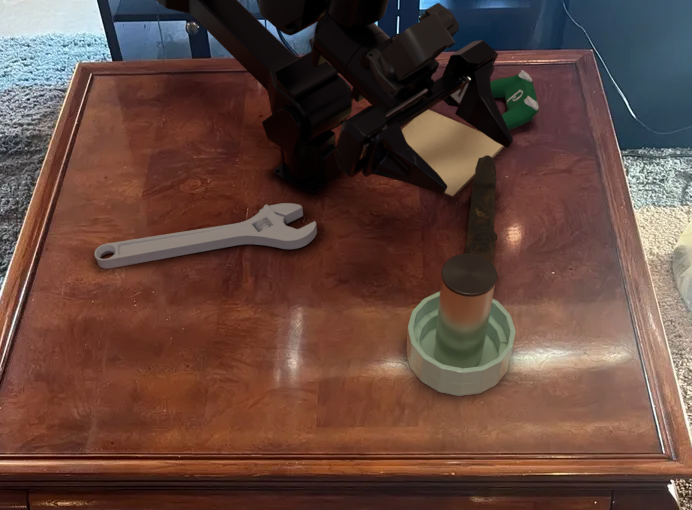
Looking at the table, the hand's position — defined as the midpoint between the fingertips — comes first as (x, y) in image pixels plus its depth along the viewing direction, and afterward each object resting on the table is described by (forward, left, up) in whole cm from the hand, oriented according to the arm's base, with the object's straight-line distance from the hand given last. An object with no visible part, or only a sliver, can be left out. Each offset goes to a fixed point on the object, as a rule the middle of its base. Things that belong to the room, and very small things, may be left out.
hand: (478, 166), depth 75 cm
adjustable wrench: (-27, -12, -16) cm, 34 cm away
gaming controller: (-11, +28, -16) cm, 34 cm away
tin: (+5, -9, -15) cm, 19 cm away
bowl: (+5, -9, -16) cm, 19 cm away
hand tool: (-3, +7, -16) cm, 18 cm away
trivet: (-14, +16, -16) cm, 27 cm away
